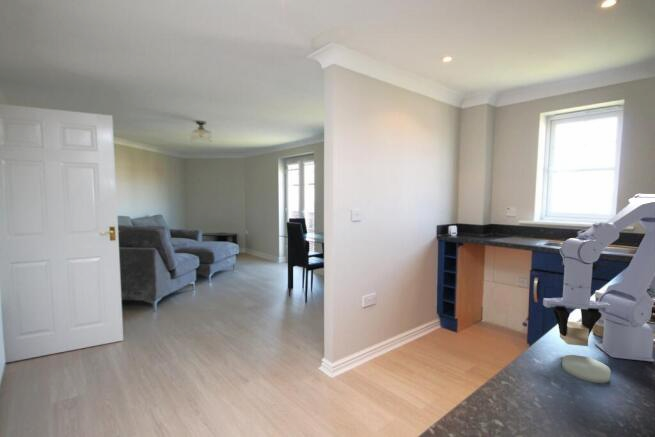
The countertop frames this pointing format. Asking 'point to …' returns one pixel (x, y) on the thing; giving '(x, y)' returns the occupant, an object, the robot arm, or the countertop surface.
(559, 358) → the countertop surface
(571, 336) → the beech cube
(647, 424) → the countertop surface
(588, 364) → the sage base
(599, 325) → the sprinkles bottle
